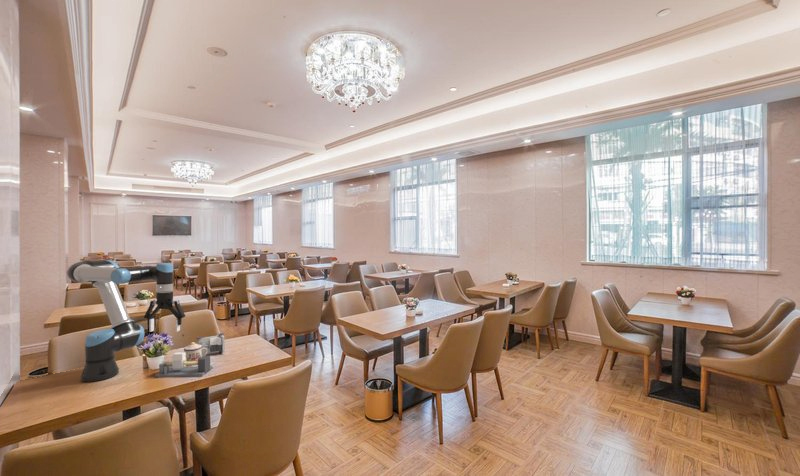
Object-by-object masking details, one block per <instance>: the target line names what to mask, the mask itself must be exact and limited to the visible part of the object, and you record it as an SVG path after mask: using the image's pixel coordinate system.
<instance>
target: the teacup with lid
mask: <svg viewBox="0 0 800 476" xmlns="http://www.w3.org/2000/svg"><path fill="white" fill-rule="evenodd" d="M195 343H196V342H194V341H193V342H191V343H190V344H188V345H186V346H185V347H184V348H183V352H186V362H193V361H198V359H199V358H201V357H202V356H207V355H208V354H207V349H206V348H202V346H201V345H199V344H195ZM202 349H205V350H206V352H205V354H203V355H202V353H201V350H202Z"/></svg>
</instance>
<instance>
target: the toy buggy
mask: <svg viewBox="0 0 800 476" xmlns="http://www.w3.org/2000/svg"><path fill="white" fill-rule="evenodd" d="M224 335H225V333H224V332H220V333H218V334H217V335H212V336H205V337H202V336H197V337H196V338H195V339H196V340H198V342H195V344H199V345H201V346H202V348H206V349H207V354H206V355H208V354H213V353H220V354H225V350H226V349H225V336H224ZM205 352H206V350H205V349H202V350H201V353H202V355H204V354H205Z"/></svg>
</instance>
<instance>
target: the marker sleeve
mask: <svg viewBox="0 0 800 476" xmlns="http://www.w3.org/2000/svg"><path fill="white" fill-rule="evenodd" d="M171 362H172V365H171V367H172V369H182V368H183V367H187V365H183V364H182V362H186V352H184V351H180V352H179V351H177V352H175V353H172V360H171Z"/></svg>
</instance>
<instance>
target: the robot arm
mask: <svg viewBox="0 0 800 476" xmlns="http://www.w3.org/2000/svg"><path fill="white" fill-rule="evenodd" d="M66 274H67V278H68V279H69V280H70V281H72V282H75V283H91V285H92V287H94V288H96V289H97V290H98V293H99V296H100V298H101V301H102V304H103V307H104V309H105V312H106V314H107V317H108V319H109V321H110V324H111V327H110V328H104V329H100V330H99V329H98V330H96V331H93V332H90V333H89V334H87V335H86V337H85V339H84V340H85V342H84V346H85V347H84V354H85V357H84V358H85V364H84V367H83V369H82V373H81V375H80V381H81V382H87V383H89V382H98V381H103V380H107V379H110V378H113V377H115V376H117V375H118V374H119V373H120V368H119V367H118V364H117V361H116V359H115V353H117V352H120V351H123V350H126V349H130V348H133V347H135V346H138V345H140V344H141V343H142V342H143V341H144V339H145V329H144V326H142V325H141V324H137V323H136V320H133V319H131V317H130V313H129V312H128V310H127V307H126V304H125V302H124V299H123V296H122V294H121V292H120V290H119V288H118V285H123V284H127V283H128V284H129V283H130V284H131V283H137V282H145V281H156V283H155V284H156V286H155V287H156V293H155V294H156V295H155V296H156V300H155V299H153V300H150V303H149V306H148V307H147V309H146V312H145V315H144V316H143V318H144V319H147V325H148V327H149V333H151V332H154V331H155V318H154V317H155V315H157V314H158V312H159V311H160V310H168V311H169V312H171V313H172V315H173V316H174V317H175V318H176V319H175V333H177V332H179V331H180V330H181V325H182V322H183V321H182V319H183V318H185V317H186V313H185V312H184V310H183V308H182V306H181V304H180V300H179V299H178V300H174V265H173V263H172V262H158V263H156V266H155V265H142V266H136V267H120V266H119V265H118V263H117V262H115V261H114V260H110V259H101V260H85V261H78V262H75V263H73V264H71V266H69V268H68V269H67V272H66ZM155 306H156V307H155ZM154 308H155V309H154Z"/></svg>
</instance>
